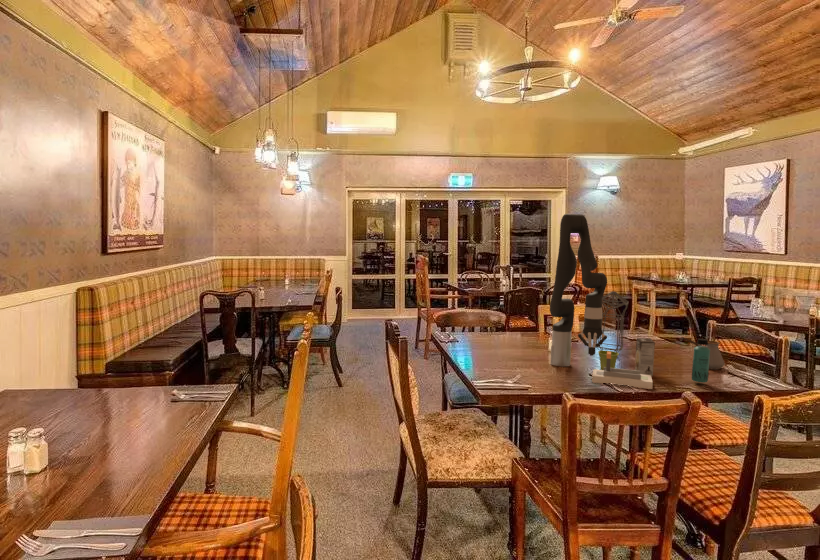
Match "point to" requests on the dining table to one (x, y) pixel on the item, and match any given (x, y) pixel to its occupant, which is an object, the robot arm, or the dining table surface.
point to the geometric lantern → (614, 317)
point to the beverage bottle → (701, 362)
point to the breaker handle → (608, 362)
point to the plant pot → (604, 359)
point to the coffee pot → (712, 354)
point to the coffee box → (644, 356)
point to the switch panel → (622, 377)
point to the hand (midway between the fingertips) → (591, 355)
